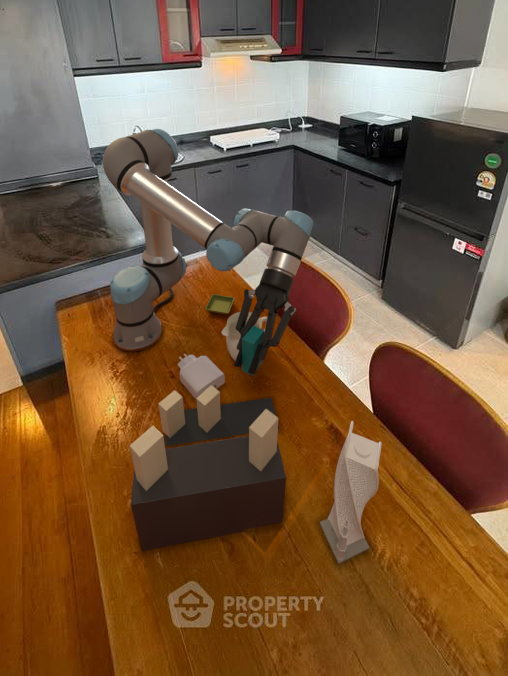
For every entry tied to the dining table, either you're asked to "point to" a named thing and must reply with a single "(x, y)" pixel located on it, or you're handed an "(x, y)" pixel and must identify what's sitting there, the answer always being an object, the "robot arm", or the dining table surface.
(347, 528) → the skyscraper
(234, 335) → the pitcher
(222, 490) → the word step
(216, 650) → the dining table surface
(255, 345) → the upright teal pillar
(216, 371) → the charger
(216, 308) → the green square dish
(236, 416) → the dark grey block
